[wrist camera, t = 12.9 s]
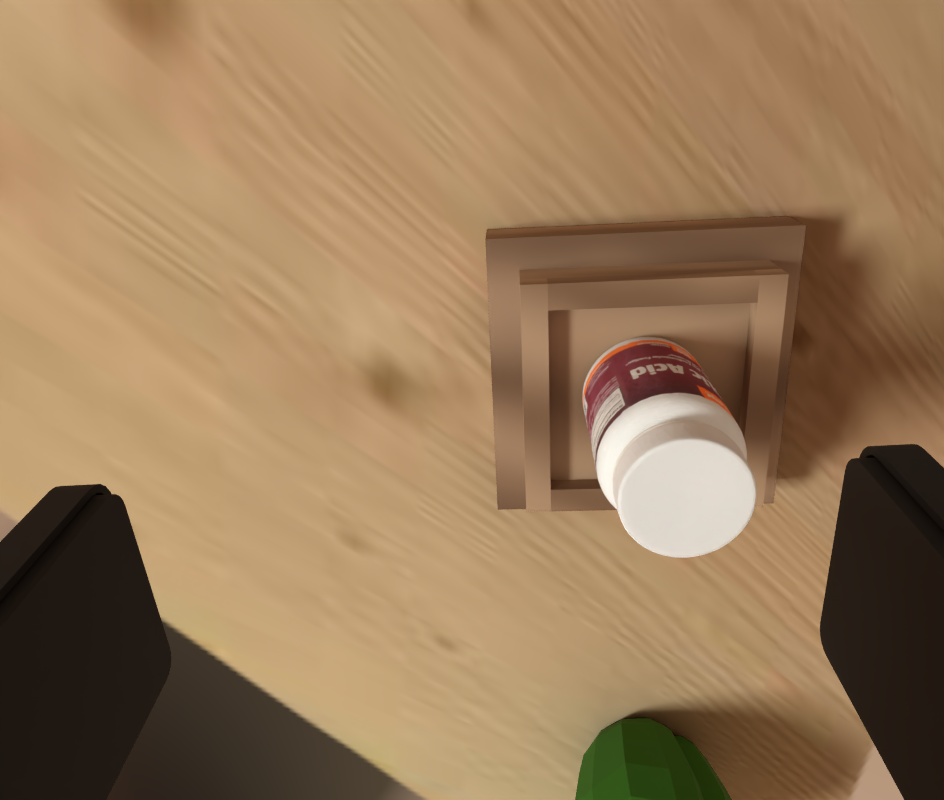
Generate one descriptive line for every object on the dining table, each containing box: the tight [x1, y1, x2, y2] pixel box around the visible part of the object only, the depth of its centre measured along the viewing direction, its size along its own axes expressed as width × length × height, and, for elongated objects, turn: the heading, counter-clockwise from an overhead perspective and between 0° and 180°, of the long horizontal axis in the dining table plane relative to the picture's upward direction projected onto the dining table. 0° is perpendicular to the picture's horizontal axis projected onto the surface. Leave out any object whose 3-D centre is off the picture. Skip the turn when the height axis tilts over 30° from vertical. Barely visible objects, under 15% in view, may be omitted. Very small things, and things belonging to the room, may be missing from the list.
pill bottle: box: [582, 337, 757, 558], centre depth 26 cm, size 5×5×8 cm
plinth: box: [486, 216, 806, 512], centre depth 31 cm, size 12×12×4 cm
